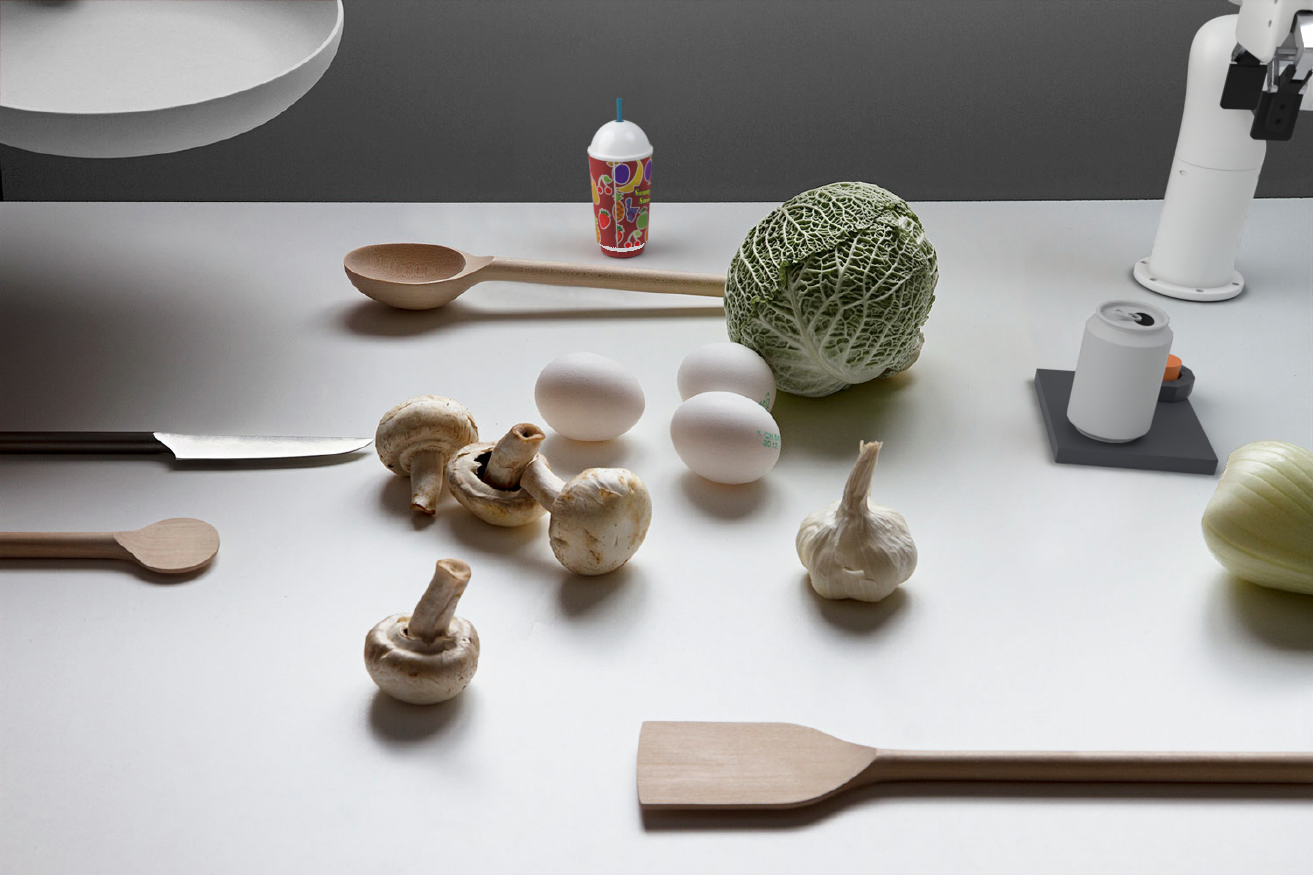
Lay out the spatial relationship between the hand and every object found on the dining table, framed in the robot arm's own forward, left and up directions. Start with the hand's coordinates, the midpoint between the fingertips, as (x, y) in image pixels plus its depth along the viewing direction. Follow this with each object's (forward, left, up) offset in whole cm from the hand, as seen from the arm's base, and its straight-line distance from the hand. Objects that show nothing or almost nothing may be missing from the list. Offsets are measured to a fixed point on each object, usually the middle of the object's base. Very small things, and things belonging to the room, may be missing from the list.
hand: (1252, 123), depth 100 cm
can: (+9, -9, -27) cm, 30 cm away
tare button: (+1, -3, -25) cm, 25 cm away
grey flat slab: (+6, -7, -28) cm, 30 cm away
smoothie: (-32, -64, -28) cm, 77 cm away
